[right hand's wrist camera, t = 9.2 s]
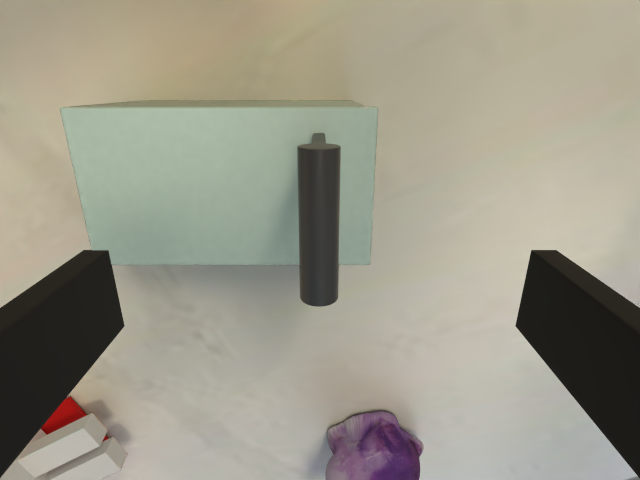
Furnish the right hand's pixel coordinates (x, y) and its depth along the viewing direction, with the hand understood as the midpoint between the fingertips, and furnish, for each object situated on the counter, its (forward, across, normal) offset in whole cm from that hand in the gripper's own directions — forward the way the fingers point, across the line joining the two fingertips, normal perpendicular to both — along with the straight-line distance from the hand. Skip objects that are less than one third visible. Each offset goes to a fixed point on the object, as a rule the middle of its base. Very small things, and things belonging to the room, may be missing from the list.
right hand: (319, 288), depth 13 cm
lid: (+13, -6, 0) cm, 14 cm away
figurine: (+24, +5, -32) cm, 41 cm away
